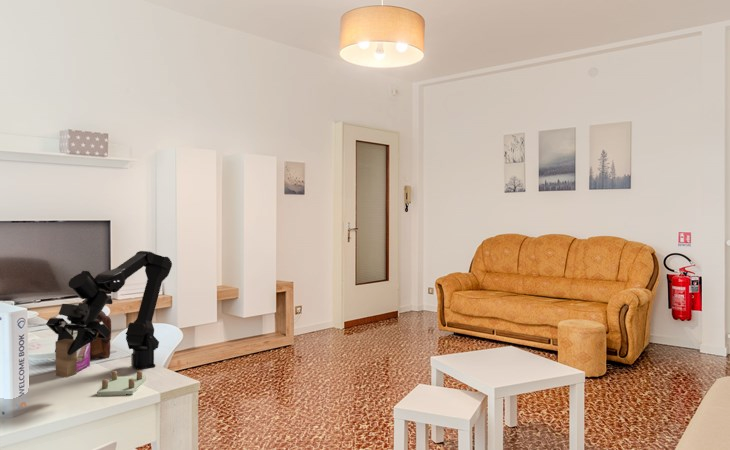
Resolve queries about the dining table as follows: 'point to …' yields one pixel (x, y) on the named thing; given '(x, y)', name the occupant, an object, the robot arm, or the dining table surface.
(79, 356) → the candy bar box
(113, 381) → the peg stand
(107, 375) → the dining table surface
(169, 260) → the robot arm
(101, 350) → the wooden figurine
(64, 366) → the brown wooden block
